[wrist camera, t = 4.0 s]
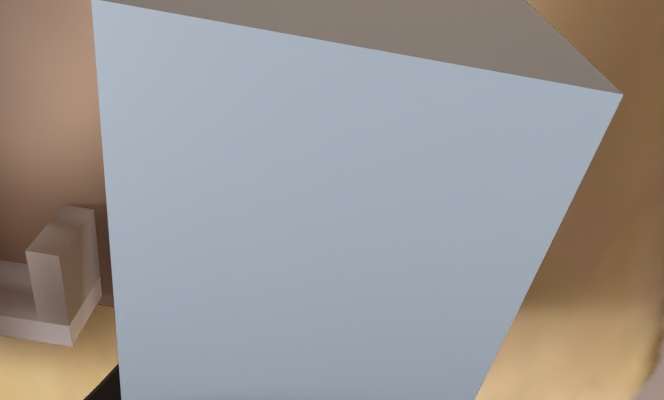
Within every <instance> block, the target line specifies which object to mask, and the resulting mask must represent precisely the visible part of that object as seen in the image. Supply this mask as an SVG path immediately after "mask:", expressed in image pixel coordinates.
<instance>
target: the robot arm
mask: <svg viewBox="0 0 664 400" xmlns="http://www.w3.org/2000/svg"><path fill="white" fill-rule="evenodd" d="M84 400H121V387H120V374H119V363H118V364H117V366H116V367H115V368H114V369H113V370H112V371H111V372H110V373H109V374H108V375H107V376H106V378H105V379H104V380H103V381H102V382H101V383H100V384H99V385H98V386H97V387H96V388H95V389H94V390H93V391H92V392H91V393H90V394H89V395H88V396H87V397H86V398H85V399H84Z"/></svg>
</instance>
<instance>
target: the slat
mask: <svg viewBox="0 0 664 400" xmlns="http://www.w3.org/2000/svg"><path fill="white" fill-rule="evenodd" d="M91 3H92V16H93V30H94V43H95V56H96V69H97V83H98V96H99V109H100V122H101V136H102V149H103V162H104V175H105V189H106V202H107V215H108V228H109V242H110V255H111V268H112V281H113V295H114V308H115V321H116V334H117V348H118V361H119V374H120V387H121V400H475V398H476V396H477V394H478V392H479V390H480V388H481V386H482V384H483V382H484V380H485V377H486V375H487V373H488V371H489V369H490V367H491V365H492V363H493V361H494V359H495V357H496V355H497V353H498V351H499V349H500V347H501V345H502V343H503V341H504V339H505V337H506V335H507V332H508V330H509V328H510V326H511V324H512V322H513V320H514V318H515V316H516V314H517V312H518V310H519V308H520V306H521V304H522V302H523V300H524V298H525V296H526V294H527V292H528V290H529V287H530V285H531V283H532V281H533V279H534V277H535V275H536V273H537V271H538V269H539V267H540V265H541V263H542V261H543V259H544V257H545V255H546V253H547V251H548V249H549V247H550V245H551V242H552V240H553V238H554V236H555V234H556V232H557V230H558V228H559V226H560V224H561V222H562V220H563V218H564V216H565V214H566V212H567V210H568V208H569V206H570V204H571V202H572V200H573V197H574V195H575V193H576V191H577V189H578V187H579V185H580V183H581V181H582V179H583V177H584V175H585V173H586V171H587V169H588V167H589V165H590V163H591V161H592V159H593V157H594V155H595V152H596V150H597V148H598V146H599V144H600V142H601V140H602V138H603V136H604V134H605V132H606V130H607V128H608V126H609V124H610V122H611V120H612V118H613V116H614V114H615V112H616V110H617V107H618V105H619V103H620V101H621V99H622V97H623V95H624V94H623V93H622V92H621V91H619V90H618V89H617V88H616V87H615V86H614V85H613V84H612V83H611V82H610V81H609V80H608V79H607V78H606V77H605V76H604V75H603V74H602V73H601V72H600V71H599V70H598V69H597V68H596V67H595V66H593V65H592V64H591V63H590V62H589V61H588V60H587V59H586V58H585V57H584V56H583V55H582V54H581V53H580V52H579V51H578V50H577V49H576V48H575V47H574V46H573V45H572V44H571V43H570V42H569V41H567V40H566V39H565V38H564V37H563V36H562V35H561V34H560V33H559V32H558V31H557V30H556V29H555V28H554V27H553V26H552V25H551V24H550V23H549V22H548V21H547V20H546V19H545V18H544V17H543V16H541V15H540V14H539V13H538V12H537V11H536V10H535V9H534V8H533V7H532V6H531V5H530V4H529V3H528V2H527V1H526V0H91Z"/></svg>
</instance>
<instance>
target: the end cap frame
mask: <svg viewBox="0 0 664 400" xmlns="http://www.w3.org/2000/svg"><path fill="white" fill-rule="evenodd" d="M97 304H98V305H104V306H111V307H114V295H113V281H112V268H111V255H110V242H109V228H108V215H107V202H106V189H105V175H104V162H103V149H102V136H101V122H100V109H99V96H98V83H97V69H96V56H95V43H94V30H93V16H92V3H91V0H0V336H5V337H11V338H18V339H24V340H31V341H38V342H44V343H51V344H57V345H64V346H70V347H72V346H73V344H74V342H75V341H76V339H77V337H78V336H79V334H80V332H81V331H82V329H83V327H84V325H85V324H86V322H87V320H88V319H89V317H90V315H91V314H92V312H93V310H94V308H95V307H96V305H97Z"/></svg>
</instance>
